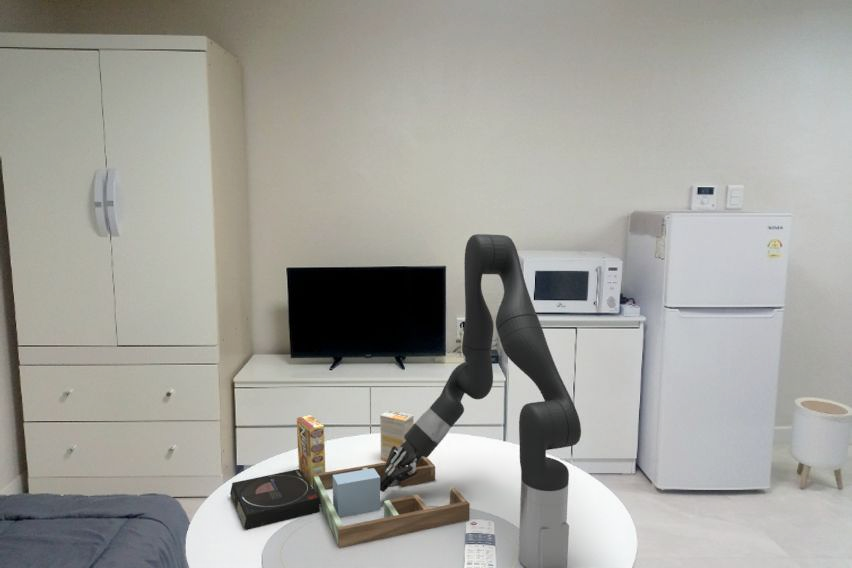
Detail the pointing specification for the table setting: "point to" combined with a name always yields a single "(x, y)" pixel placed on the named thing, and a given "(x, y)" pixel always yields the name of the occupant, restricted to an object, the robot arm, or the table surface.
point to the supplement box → (393, 430)
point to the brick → (356, 492)
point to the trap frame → (392, 508)
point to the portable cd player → (274, 498)
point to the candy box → (310, 447)
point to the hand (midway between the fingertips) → (379, 488)
